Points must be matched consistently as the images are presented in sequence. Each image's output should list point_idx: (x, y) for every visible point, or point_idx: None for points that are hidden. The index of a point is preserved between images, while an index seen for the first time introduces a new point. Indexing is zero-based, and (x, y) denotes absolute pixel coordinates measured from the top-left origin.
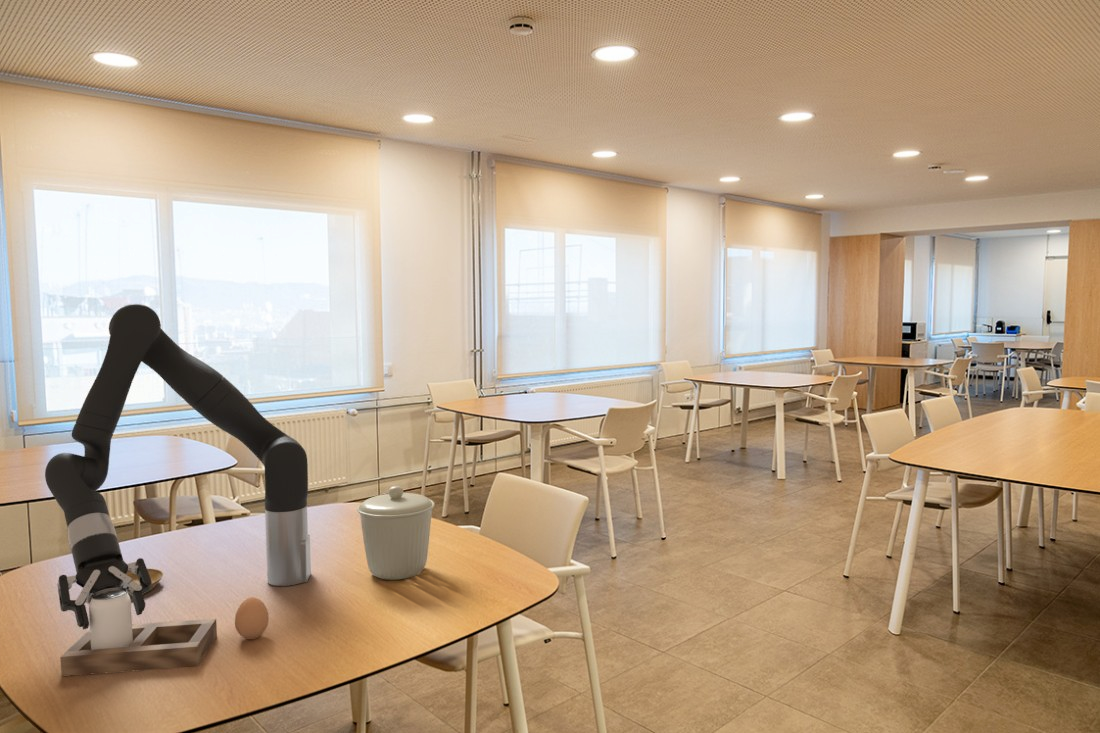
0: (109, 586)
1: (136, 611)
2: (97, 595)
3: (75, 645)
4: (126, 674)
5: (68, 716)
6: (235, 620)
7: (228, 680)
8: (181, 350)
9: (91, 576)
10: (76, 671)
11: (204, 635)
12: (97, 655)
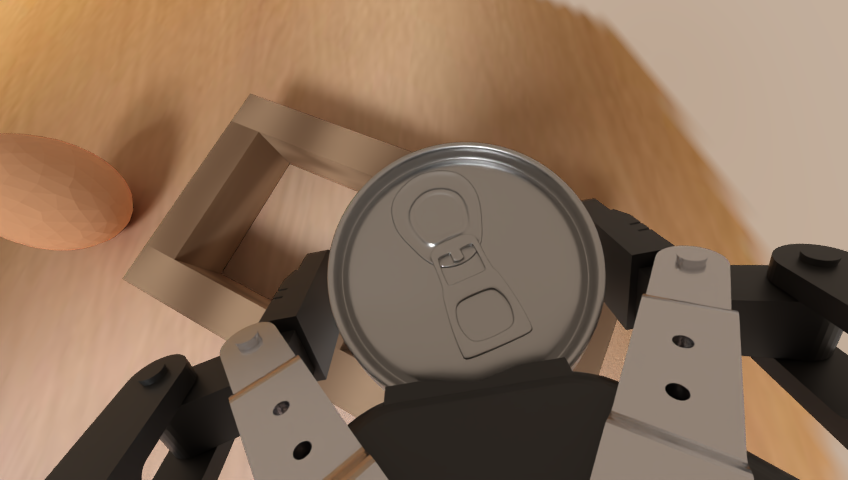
0: (451, 384)
1: None
2: (552, 307)
3: (601, 323)
4: None
5: (566, 30)
6: (92, 187)
7: (254, 35)
8: None
9: (723, 467)
10: None
11: (206, 157)
12: None
